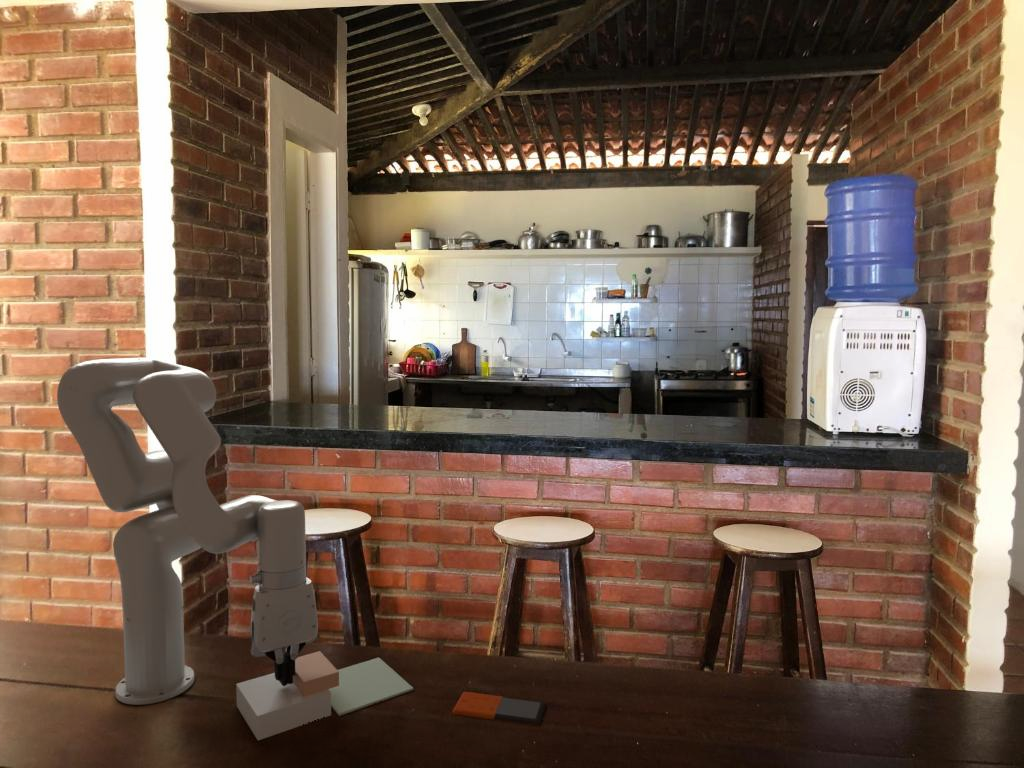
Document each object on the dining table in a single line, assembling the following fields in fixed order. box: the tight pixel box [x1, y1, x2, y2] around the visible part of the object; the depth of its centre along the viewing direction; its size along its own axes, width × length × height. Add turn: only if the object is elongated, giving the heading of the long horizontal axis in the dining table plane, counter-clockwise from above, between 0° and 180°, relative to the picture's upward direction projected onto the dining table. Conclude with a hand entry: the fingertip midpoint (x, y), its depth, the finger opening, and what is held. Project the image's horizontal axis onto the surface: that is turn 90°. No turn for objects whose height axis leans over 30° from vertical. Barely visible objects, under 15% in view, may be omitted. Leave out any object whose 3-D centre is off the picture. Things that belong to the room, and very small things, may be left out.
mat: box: [328, 657, 414, 717], centre depth 123 cm, size 14×14×1 cm
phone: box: [452, 691, 546, 727], centre depth 116 cm, size 6×1×15 cm
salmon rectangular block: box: [293, 650, 339, 697], centre depth 117 cm, size 9×6×2 cm, turn 36°
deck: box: [235, 672, 332, 741], centre depth 115 cm, size 12×12×4 cm
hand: (285, 681), depth 115 cm, fingers closed
